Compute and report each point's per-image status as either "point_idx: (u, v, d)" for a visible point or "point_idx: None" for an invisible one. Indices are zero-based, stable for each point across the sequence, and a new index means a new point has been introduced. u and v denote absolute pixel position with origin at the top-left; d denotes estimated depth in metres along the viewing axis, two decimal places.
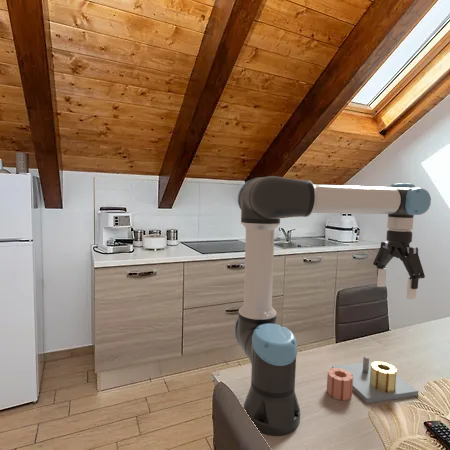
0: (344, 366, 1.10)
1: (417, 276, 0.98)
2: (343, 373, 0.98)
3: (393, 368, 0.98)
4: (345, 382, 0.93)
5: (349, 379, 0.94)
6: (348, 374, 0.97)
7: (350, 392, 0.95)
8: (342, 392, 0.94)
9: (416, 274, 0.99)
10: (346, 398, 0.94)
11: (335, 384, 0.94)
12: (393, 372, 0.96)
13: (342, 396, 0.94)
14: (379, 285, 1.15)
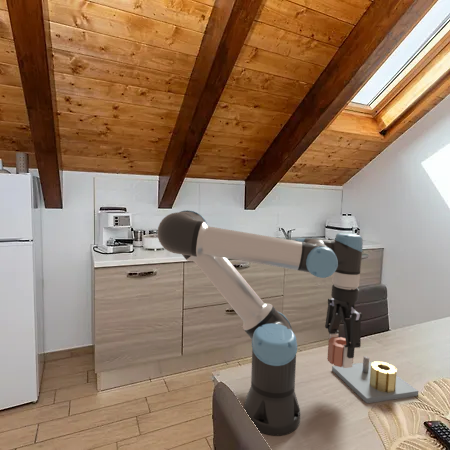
0: None
1: (352, 346, 0.89)
2: (344, 341, 0.97)
3: (393, 368, 0.98)
4: None
5: None
6: None
7: None
8: None
9: (351, 343, 0.89)
10: None
11: (336, 351, 0.94)
12: (393, 372, 0.96)
13: None
14: None
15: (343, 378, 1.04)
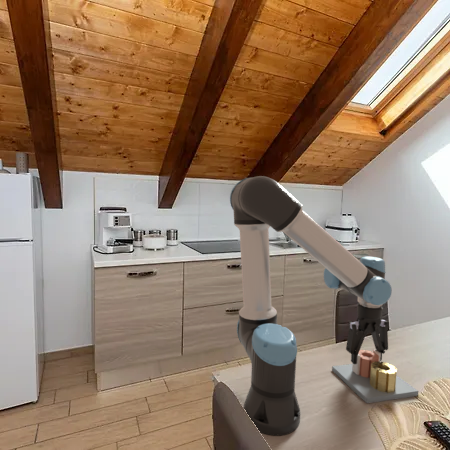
0: (344, 366, 1.10)
1: None
2: None
3: (393, 368, 0.98)
4: None
5: (361, 357, 1.04)
6: (370, 358, 1.04)
7: (361, 370, 1.04)
8: None
9: None
10: None
11: None
12: (393, 372, 0.96)
13: None
14: None
15: (343, 378, 1.04)
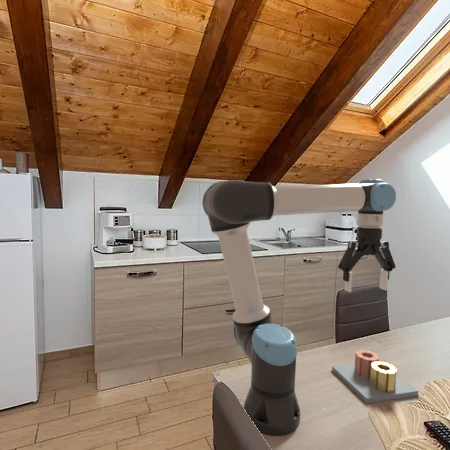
0: (344, 366, 1.10)
1: None
2: None
3: (393, 368, 0.98)
4: (356, 356, 1.06)
5: (361, 357, 1.04)
6: (370, 358, 1.04)
7: (361, 370, 1.04)
8: None
9: None
10: (357, 371, 1.06)
11: None
12: (393, 372, 0.96)
13: None
14: (380, 286, 1.09)
15: (343, 378, 1.04)
